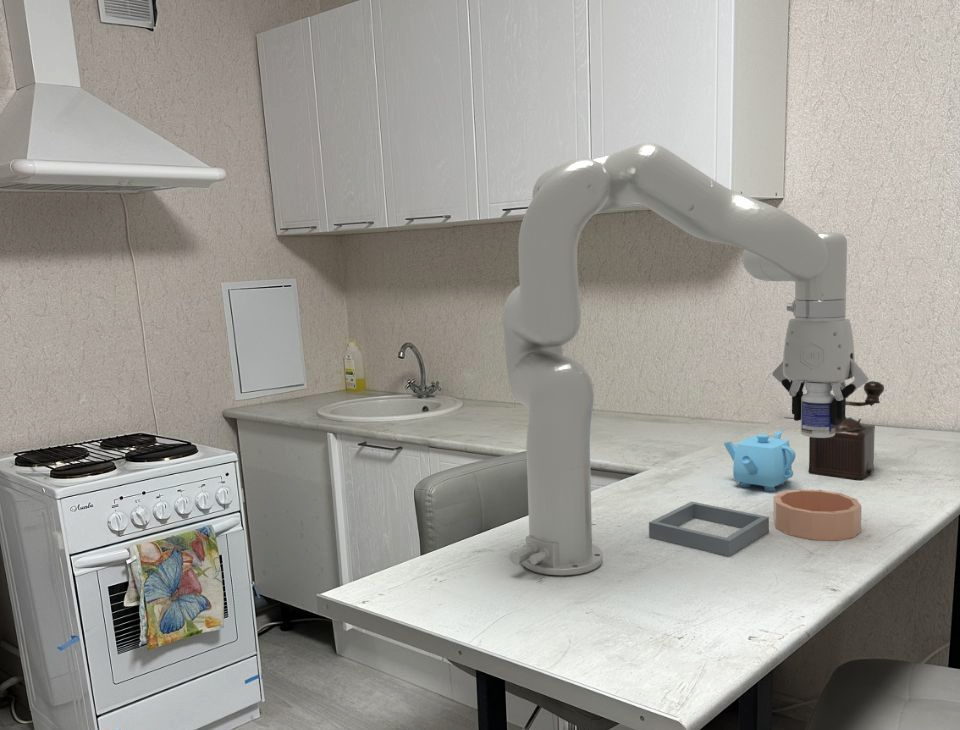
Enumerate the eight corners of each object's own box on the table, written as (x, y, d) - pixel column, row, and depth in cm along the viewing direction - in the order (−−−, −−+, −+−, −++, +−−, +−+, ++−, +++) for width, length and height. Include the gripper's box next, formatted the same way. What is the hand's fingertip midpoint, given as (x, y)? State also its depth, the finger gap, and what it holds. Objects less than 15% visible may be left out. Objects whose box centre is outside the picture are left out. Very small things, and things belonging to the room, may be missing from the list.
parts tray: (729, 556, 120) (729, 540, 120) (649, 536, 130) (648, 522, 129) (768, 531, 130) (768, 517, 130) (691, 515, 140) (691, 501, 139)
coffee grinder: (865, 481, 156) (867, 391, 153) (807, 473, 163) (808, 387, 160) (884, 464, 168) (887, 380, 165) (829, 457, 175) (831, 377, 172)
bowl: (842, 546, 123) (842, 518, 122) (761, 528, 131) (761, 503, 131) (870, 524, 132) (871, 498, 131) (793, 509, 141) (793, 485, 140)
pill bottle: (838, 438, 127) (840, 383, 125) (803, 438, 128) (804, 384, 126) (831, 431, 132) (832, 378, 130) (797, 431, 133) (798, 378, 132)
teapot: (777, 501, 146) (777, 448, 144) (705, 489, 155) (705, 438, 153) (811, 478, 159) (812, 429, 158) (743, 468, 168) (743, 422, 167)
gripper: (758, 311, 130) (757, 419, 133) (868, 313, 118) (865, 432, 121) (777, 308, 135) (776, 412, 138) (884, 309, 124) (881, 423, 126)
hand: (818, 420), depth 129 cm, fingers closed on pill bottle, 5 cm apart
